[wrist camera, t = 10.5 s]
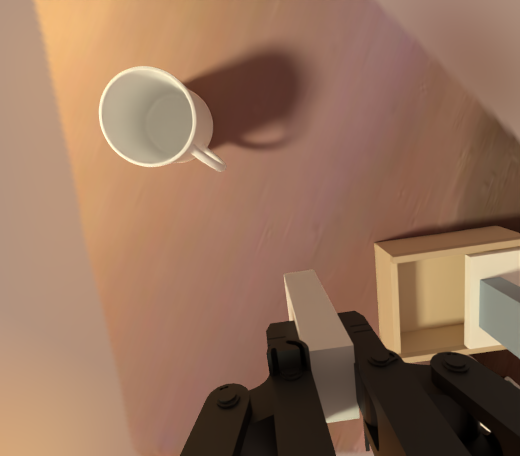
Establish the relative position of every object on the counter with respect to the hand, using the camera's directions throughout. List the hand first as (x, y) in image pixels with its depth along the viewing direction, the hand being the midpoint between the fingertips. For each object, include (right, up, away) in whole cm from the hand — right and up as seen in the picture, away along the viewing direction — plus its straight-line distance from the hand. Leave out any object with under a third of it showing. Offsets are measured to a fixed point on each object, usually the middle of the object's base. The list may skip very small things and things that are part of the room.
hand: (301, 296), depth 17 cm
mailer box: (+22, -4, +29) cm, 36 cm away
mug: (-11, +14, +24) cm, 30 cm away
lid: (+30, -4, +24) cm, 39 cm away
